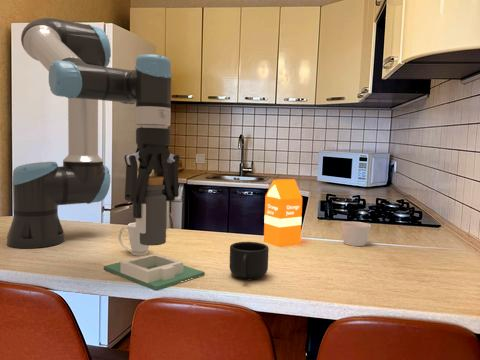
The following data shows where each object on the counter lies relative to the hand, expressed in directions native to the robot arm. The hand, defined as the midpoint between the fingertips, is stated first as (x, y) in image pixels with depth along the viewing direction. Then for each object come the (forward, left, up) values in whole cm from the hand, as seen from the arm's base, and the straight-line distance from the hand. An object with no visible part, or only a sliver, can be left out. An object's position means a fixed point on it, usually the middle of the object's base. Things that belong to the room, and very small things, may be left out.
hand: (152, 230), depth 95 cm
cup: (-19, +9, -11) cm, 24 cm away
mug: (+16, +15, -11) cm, 24 cm away
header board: (-2, +2, -11) cm, 11 cm away
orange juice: (+2, +49, -11) cm, 50 cm away
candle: (+19, +65, -11) cm, 69 cm away
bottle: (0, 0, -3) cm, 3 cm away
